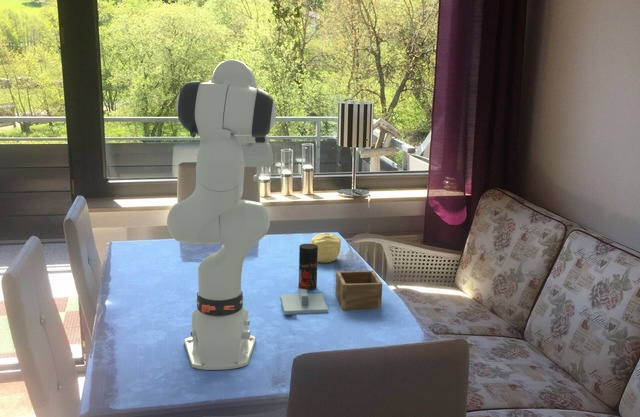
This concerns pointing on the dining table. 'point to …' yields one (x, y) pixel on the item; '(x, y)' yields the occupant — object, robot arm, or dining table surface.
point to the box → (358, 290)
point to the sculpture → (327, 247)
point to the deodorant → (308, 266)
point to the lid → (303, 303)
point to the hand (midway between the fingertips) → (240, 181)
